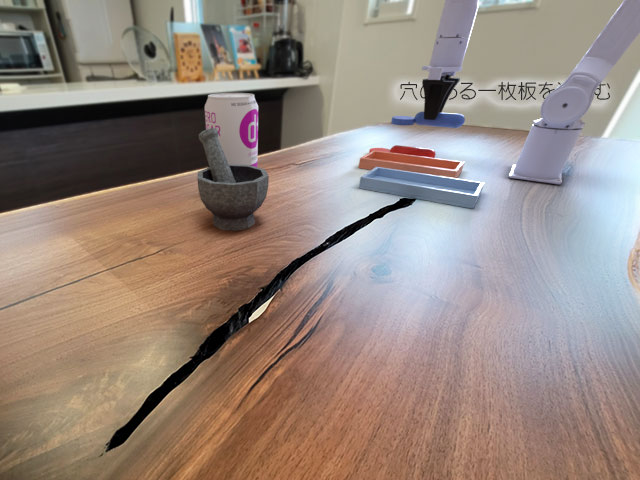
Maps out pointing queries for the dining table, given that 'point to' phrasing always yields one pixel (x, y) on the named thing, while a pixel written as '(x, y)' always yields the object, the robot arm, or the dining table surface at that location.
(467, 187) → the blue tray
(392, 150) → the red spoon
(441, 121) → the blue spoon
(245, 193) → the mortar and pestle
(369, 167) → the red tray
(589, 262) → the dining table surface
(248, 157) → the white soda can
